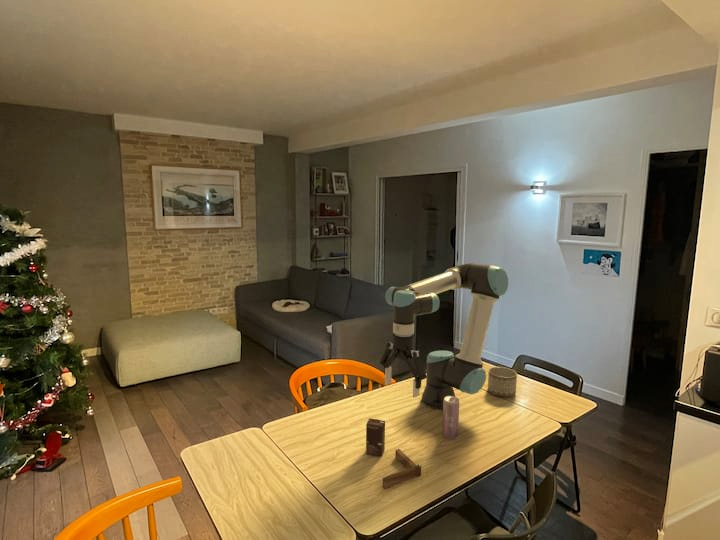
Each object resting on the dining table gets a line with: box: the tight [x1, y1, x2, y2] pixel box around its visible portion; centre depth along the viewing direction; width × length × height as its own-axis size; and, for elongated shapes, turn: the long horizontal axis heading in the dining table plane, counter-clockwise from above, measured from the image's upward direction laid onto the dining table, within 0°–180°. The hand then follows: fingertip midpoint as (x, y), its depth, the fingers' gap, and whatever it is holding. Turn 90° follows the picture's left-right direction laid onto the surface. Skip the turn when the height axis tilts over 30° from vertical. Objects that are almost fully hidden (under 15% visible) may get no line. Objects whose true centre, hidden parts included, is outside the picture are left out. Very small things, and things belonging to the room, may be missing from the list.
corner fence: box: [381, 448, 422, 490], centre depth 135 cm, size 12×14×3 cm
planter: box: [487, 366, 518, 398], centre depth 192 cm, size 13×13×10 cm
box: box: [365, 418, 386, 458], centre depth 144 cm, size 6×4×12 cm
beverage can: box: [441, 396, 460, 440], centre depth 155 cm, size 6×6×15 cm
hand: (401, 390), depth 148 cm, fingers open, 13 cm apart
